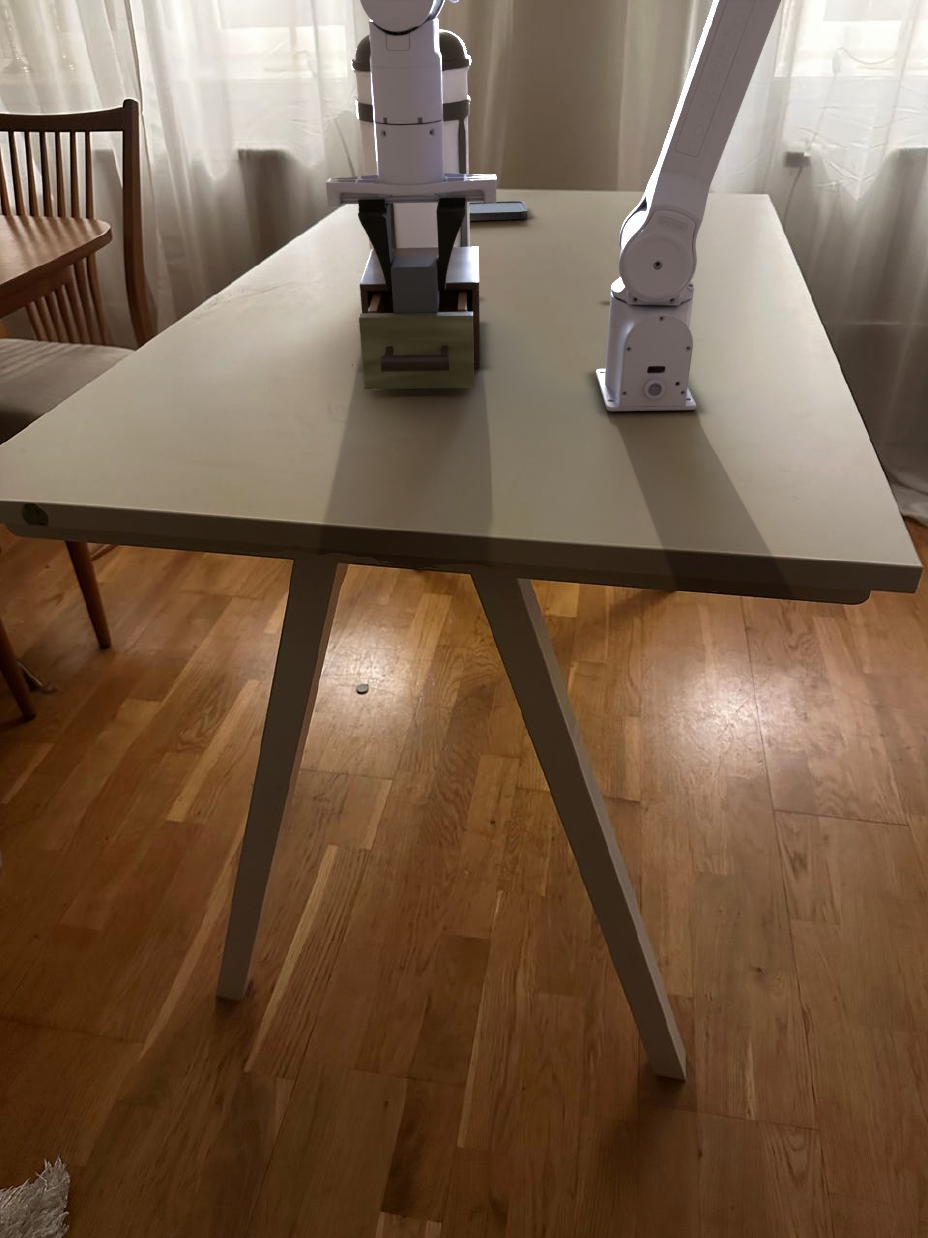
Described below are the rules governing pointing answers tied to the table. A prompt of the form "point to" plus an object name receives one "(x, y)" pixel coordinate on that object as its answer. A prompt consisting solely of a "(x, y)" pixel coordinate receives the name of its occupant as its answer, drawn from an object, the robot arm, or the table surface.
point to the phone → (497, 210)
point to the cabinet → (458, 278)
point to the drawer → (418, 344)
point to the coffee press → (419, 220)
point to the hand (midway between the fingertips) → (416, 288)
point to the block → (415, 284)
